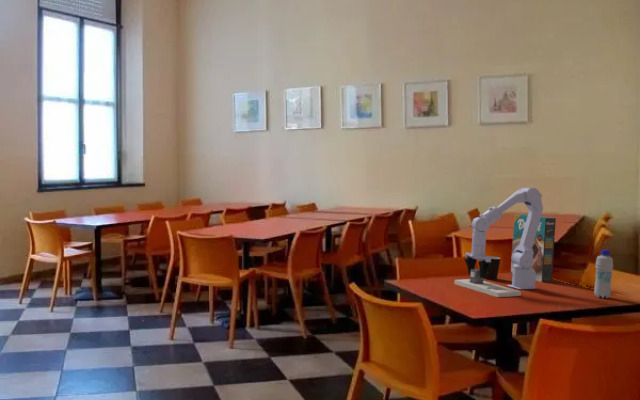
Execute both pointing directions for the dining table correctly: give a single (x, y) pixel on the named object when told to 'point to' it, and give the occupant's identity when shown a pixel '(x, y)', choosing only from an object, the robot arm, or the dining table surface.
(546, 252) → the cake mix box
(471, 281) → the plug
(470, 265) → the robot arm
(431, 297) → the dining table surface
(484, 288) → the panel
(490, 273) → the coffee mug
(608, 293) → the bottle
